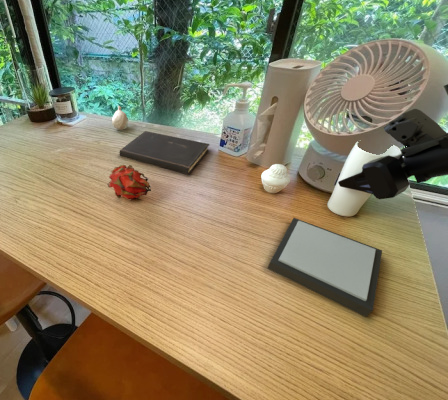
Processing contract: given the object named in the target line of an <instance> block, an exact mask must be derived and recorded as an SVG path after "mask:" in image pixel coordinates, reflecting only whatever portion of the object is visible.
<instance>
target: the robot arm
mask: <svg viewBox="0 0 448 400" xmlns="http://www.w3.org/2000/svg"><path fill="white" fill-rule="evenodd" d="M443 88H444V91H445V93H446V95H447V96H448V83H447V84H445V85H443ZM383 130H384V132H385V133H386V134H388V135H390V136H391V137H392V138H393V139H394V140H395V141H396V142H398V143H400V144H401V145H403V147H402V148H400V149H401V150H400V151H401V153H402V155H401V156H400V158H399V159H398V158H395V157H392V156H389V155H388V156H384V157H381V158H378V159H375V160H372V161H370V162H368V163H366V164H364V165H363V167H362V172H360V173H358V174H355V175H353V176H351V177H348V178H346V179H343V180H341V181H339V182H338V183H339V185H340V187H344V188H349V189H354V190H358V191H363V192H366V193H370V194H372V195H373V196H374V197H375V199H377V200H385V199H386V200H387V199H393V198H395V197H397V196H399V195H401V194H402V193H404V192H405V191H406V190H407V189H408V188H409V186H411V183H410V180H409V178H411V177H414V179H415V181H416V183H417V184H419V183H420V184H421V183H426V182H428V181H429V180H431V179H433V178H438V177H443V176H448V132H447V131H445V130H444V129H443V128H442V127H441V125H440V124H438V123H437V121H435V120H434V119H432V117H430V116H429V115H427V113H425V112H423V111H422V110H420V109H418V108H412V109H411V110H408V111H405V112H403V113H402V114H401V115H399V116H398V117H396V118H395V119H394V120H391V121H389V123H388V124H386V125H385V126H384V127H383ZM404 146H405V148H404ZM406 146H407V147H406Z"/></svg>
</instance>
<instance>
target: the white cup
mask: <svg viewBox="0 0 448 400" xmlns="http://www.w3.org/2000/svg"><path fill="white" fill-rule="evenodd" d="M358 143H359V142H358V141H356V142H355V144H354V145H353V147H352V149H351V150H350V152H349V154H348V156H347V158H346V159H345V162H344V163H343V166H342V168H341V171H340V174H339V176H338V178H337V181H336V183H335V186H334V188H333V191H332V193H331V196H330V197H329V200H327V203H326V206H327V208H328V210H330V211H331V212H332V213H333V214H335V215H338V216H341V217H354V216H356V215H357V214H358V212H359V211H360V210H361V208H362V207H363V206H364V204H365V203H366V202H367V201H368V200H369V198H370V197H371V196H372V195H373V194H370V193H366V192H363V191H358V190H354V189H349V188H344V187H340V185H339V183H338V182H339V181H341V180H343V179H346V178H348V177H351V176H353V175H355V174H358V173H360V172H362V167H363V165H364V164H366V163H368V162H370V161H372V160H375V159H378V158H381V157H384V156H388V155H389V156H392V157H395V158H398V159H399V158H400V156H401V155H402V153H401V151H400V150H401V149H402V148H399V147H398V146H397V145H394V144H393V146H391V147H390V148H389V149H387V151H386V152H385V153H383V154H380V155H376V154H372V153H369V152H366V151H364V150H362V149H361V148H359V147H358Z"/></svg>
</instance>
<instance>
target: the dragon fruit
mask: <svg viewBox="0 0 448 400" xmlns="http://www.w3.org/2000/svg"><path fill="white" fill-rule="evenodd" d="M141 176H142V177H141ZM108 178H109V179H110V181H109V182H108V183H107V184H106V185H107V187H108V188H113V190H114V194H115V196H116V197H117V199H121V198H122V197H123V198H125V199H127V200H130V201H133V202H136V201H140V200H141V198H140V197H141V196H142V197H143V196H147V195H148V193H149V192H152V189H151V188H152V186H151V185H150V183H149V182H148V181H149V178H148V177H147V176H145V174H144V173H143V172H139V170H136V169H135V167H134V166H133V165H131V164H129V165H126V164H120V165H119V166H115V167H114V168H113V169H112V171H111V173H110V174H109V176H108Z"/></svg>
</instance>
